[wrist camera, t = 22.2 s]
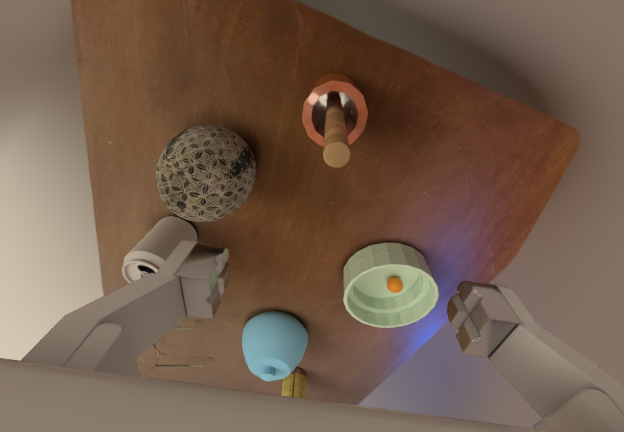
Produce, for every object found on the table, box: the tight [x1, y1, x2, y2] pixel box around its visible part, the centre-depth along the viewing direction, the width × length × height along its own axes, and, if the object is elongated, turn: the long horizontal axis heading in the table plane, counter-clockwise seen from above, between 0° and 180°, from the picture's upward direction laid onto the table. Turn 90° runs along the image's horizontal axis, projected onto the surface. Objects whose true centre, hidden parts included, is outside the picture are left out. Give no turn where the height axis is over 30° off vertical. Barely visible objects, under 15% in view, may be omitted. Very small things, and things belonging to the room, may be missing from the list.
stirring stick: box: [323, 95, 351, 168], centre depth 29 cm, size 2×2×20 cm
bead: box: [387, 277, 403, 293], centre depth 52 cm, size 3×3×3 cm
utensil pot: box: [302, 73, 368, 147], centre depth 34 cm, size 7×7×9 cm
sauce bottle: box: [282, 368, 306, 399], centre depth 67 cm, size 7×6×20 cm
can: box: [122, 217, 197, 283], centre depth 46 cm, size 8×8×12 cm
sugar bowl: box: [242, 311, 308, 381], centre depth 60 cm, size 15×15×12 cm
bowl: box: [342, 242, 439, 328], centre depth 51 cm, size 16×16×6 cm
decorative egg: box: [156, 125, 256, 222], centre depth 36 cm, size 12×12×15 cm
